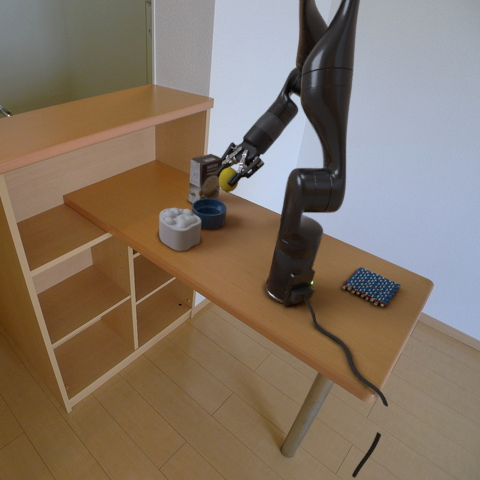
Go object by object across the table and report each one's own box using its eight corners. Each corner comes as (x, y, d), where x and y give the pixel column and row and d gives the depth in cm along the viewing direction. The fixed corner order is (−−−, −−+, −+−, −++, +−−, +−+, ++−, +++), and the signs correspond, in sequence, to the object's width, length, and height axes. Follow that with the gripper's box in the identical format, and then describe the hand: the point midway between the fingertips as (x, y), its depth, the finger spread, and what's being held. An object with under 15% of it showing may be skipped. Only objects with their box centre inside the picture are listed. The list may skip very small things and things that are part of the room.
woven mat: (357, 270, 98) (359, 264, 97) (399, 289, 92) (402, 283, 91) (340, 288, 92) (342, 282, 91) (383, 310, 86) (387, 304, 85)
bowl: (231, 226, 116) (232, 211, 113) (199, 233, 113) (200, 218, 110) (215, 210, 125) (216, 196, 121) (186, 216, 122) (186, 201, 118)
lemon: (236, 197, 103) (239, 172, 98) (217, 196, 104) (219, 170, 99) (237, 189, 107) (240, 163, 103) (218, 187, 108) (220, 162, 104)
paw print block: (179, 253, 104) (180, 228, 99) (151, 234, 112) (150, 210, 107) (204, 240, 110) (206, 215, 105) (175, 223, 118) (175, 199, 113)
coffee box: (199, 208, 126) (201, 165, 117) (188, 200, 130) (189, 158, 121) (219, 200, 130) (223, 158, 121) (207, 194, 134) (211, 152, 125)
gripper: (242, 117, 102) (203, 164, 105) (274, 133, 92) (230, 184, 95) (254, 133, 107) (217, 177, 110) (287, 149, 97) (244, 198, 100)
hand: (223, 180), depth 102 cm, fingers closed on lemon, 5 cm apart
